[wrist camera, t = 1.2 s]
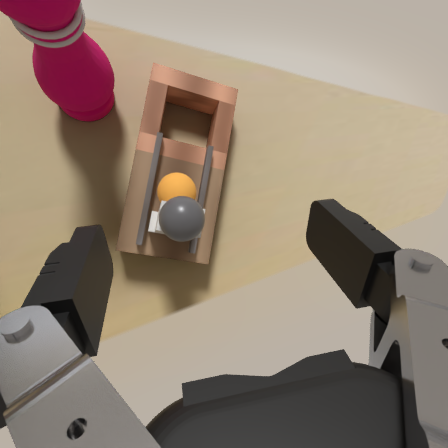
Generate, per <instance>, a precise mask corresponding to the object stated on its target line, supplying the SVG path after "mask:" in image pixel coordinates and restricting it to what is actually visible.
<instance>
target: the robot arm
mask: <svg viewBox="0 0 448 448" xmlns="http://www.w3.org/2000/svg"><path fill="white" fill-rule="evenodd" d="M306 241H307V244H308V247H309V249H310V250H311V251H312V253H313V254H314V255H315V256H316V258H317V259H318V260H319V261H320V263H321V264H322V265H323V267H324V268H325V269H326V270H327V272H328V273H329V274H330V276H331V277H332V278H333V279H334V281H335V282H336V283H337V285H338V286H339V287H340V288H341V290H342V291H343V292H344V293H345V295H346V296H347V297H348V299H349V300H350V301H351V302H352V304H353V305H354V306H355V308H361V307H367V306H371V307H372V308H373V312H372V314H371V324H370V350H369V364H368V365H366V364H361V363H355V362H351V360H350V359H349V357H348V355H347V354H346V352H345V350H344V349H343V350H338V351H334V352H329V353H324V354H320V355H314V356H310V357H306V358H305V359H302V360H301V361H299V362H297V363H295V364H294V365H292V366H290V367H288V368H286V369H284V370H282V371H280V372H279V373H277V374H275V375H273V376H247V375H227V374H226V375H219V376H215V377H210V378H205V379H201V380H196V381H191V382H186V383H182V391H183V398H181V399H179V400H177V401H175V402H174V403H172V404H171V405H169V406H168V407H166V408H165V409H164V410H163V411H161V412H160V413H159V414H158V415H157V416H155V418H154V419H152V421H151V422H150V423H149V424H148V425H147V426H146V427H145V426H144V425H143V424H142V423H141V421H140V420H139V419H138V418H137V416H136V415H135V414H134V412H133V411H132V410H131V409H130V407H129V406H128V405H127V403H126V402H125V401H124V400H123V398H122V397H121V396H120V395H119V393H118V392H117V391H116V389H115V388H114V387H113V386H112V384H111V383H110V382H109V381H108V379H107V378H106V377H105V376H104V374H103V373H102V372H101V370H100V369H99V368H98V367H97V365H96V364H95V363H94V361H93V360H92V359H91V358H90V357H92V356H97V352H98V347H99V342H100V337H101V332H102V327H103V322H104V317H105V312H106V307H107V303H108V298H109V293H110V288H111V283H112V278H113V263H112V258H111V255H110V252H109V248H108V245H107V241H106V238H105V234H104V231H103V228H102V226H101V225H93V226H84V227H77V228H76V229H75V231H74V233H73V236H72V238H71V240H70V242H68V243H62V244H60V245H59V246H58V247H57V248H56V249H55V250H54V251H52V252H51V253H50V255H49V257H48V258H47V260H46V262H45V266H43V268H42V270H41V271H40V275H39V276H38V277H37V279H36V281H35V282H34V284H33V286H32V288H31V290H30V292H29V293H28V295H27V297H26V299H25V301H24V303H23V305H22V306H21V308H19V309H17V310H14V311H12V312H10V313H8V314H6V315H5V316H3V317H1V318H0V428H2V427H4V426H6V425H7V426H8V429H9V432H10V434H11V436H12V439H13V441H14V444H15V446H16V448H448V266H447V265H446V264H445V263H444V262H443V261H442V260H440V259H439V258H437V257H436V256H434V255H432V254H430V253H427V252H424V251H420V250H416V249H401V248H400V247H399V246H397V245H396V244H395V243H394V242H392V241H391V240H390V239H389V238H387V237H386V236H385V235H384V234H382V233H381V232H380V231H379V230H376V228H375V227H374V226H372V225H371V224H368V222H367V221H366V220H365V219H364V218H362V217H361V216H360V215H358V214H356V213H354V212H351V211H349V210H347V209H345V208H344V207H343V206H342V205H341V204H339V203H338V202H337V201H336V200H334V199H327V200H318V201H314V202H313V203H312V204H311V208H310V214H309V220H308V226H307V232H306Z"/></svg>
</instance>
